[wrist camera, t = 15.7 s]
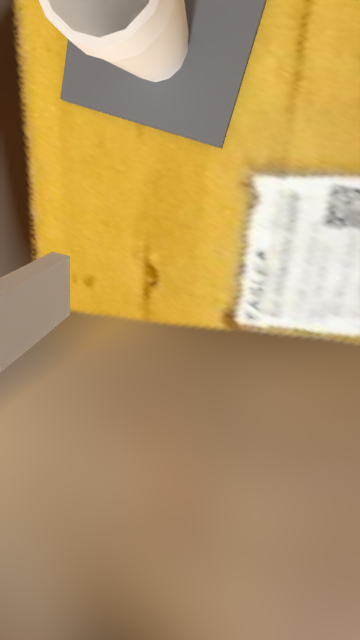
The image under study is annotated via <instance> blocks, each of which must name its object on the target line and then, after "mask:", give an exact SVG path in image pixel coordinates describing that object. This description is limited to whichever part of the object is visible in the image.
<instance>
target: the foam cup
mask: <svg viewBox="0 0 360 640" xmlns="http://www.w3.org/2000/svg"><path fill="white" fill-rule="evenodd" d="M39 2H40V4H41V6H42V9H43V11H44V13H45V16H46V18H47V19H48V20H49V21H50V22H51V23H52V24H53V25H54V26H55V27H57V28H58V29H59V30H60V31H61V32H62V33H63V34H64V35H65V36H66V37H67V38H68V39H69V40H70V41H71V42H72V43H73V44H74V45H76V46H77V47H78V48H79V49H81V50H82V51H83V52H84V53H85V54H87V55H90V56H93V57H97V58H101V59H103V60H105V61H108V62H110V63H112V64H114V65H116V66H118V67H120V68H122V69H124V70H126V71H128V72H130V73H132V74H134V75H136V76H138V77H140V78H142V79H145V80H149V81H153V82H159V81H162V80H166V79H169V78H170V77H171V76H172V75H173V74H175V73H176V72H177V71H178V70H179V69H180V68H181V66H182V64H183V61H184V59H185V57H186V54H187V52H188V36H189V33H188V24H187V17H186V10H185V3H184V0H39Z"/></svg>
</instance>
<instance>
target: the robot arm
mask: <svg viewBox="0 0 360 640" xmlns="http://www.w3.org/2000/svg"><path fill="white" fill-rule="evenodd" d="M69 315H70V256H66V255H63V254H59V253H55V252H51V253H49V254H47V255H45V256H43V257H41V258H39V259H37V260H35V261H33V262H31V263H29V264H27V265H25V266H23V267H21V268H19V269H17V270H16V271H13V272H11V273H9V274H7V275H5V276H3V277H1V278H0V372H1V371H3V369H5V368H6V367H7V366H9V365H10V364H11V363H12V362H13V361H14V360H16V359H17V358H18V357H19V356H21V355H22V354H23V353H24V352H26V351H27V350H28V349H29V348H30V347H31V346H33V345H34V344H35V343H36V342H37V341H39V340H40V339H41V338H42V337H44V336H45V335H46V334H47V333H48V332H50V331H51V330H52V329H53V328H55V327H56V326H57V325H58V324H59V323H61V322H62V321H63V320H64V319H65V318H67V317H68V316H69Z"/></svg>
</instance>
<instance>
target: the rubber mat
mask: <svg viewBox="0 0 360 640" xmlns="http://www.w3.org/2000/svg"><path fill="white" fill-rule="evenodd" d="M266 1H267V0H184V3H185V10H186V17H187V24H188V33H189V36H188V52H187V54H186V57H185V59H184V61H183V64H182V66H181V68H180V69H179V70H178V71H177V72H176V73H175V74H173V75H172V76H171V77H170V78H169V79H166V80H162V81H159V82H153V81H149V80H145V79H142V78H140V77H138V76H136V75H134V74H132V73H130V72H128V71H126V70H124V69H122V68H120V67H118V66H116V65H114V64H112V63H110V62H108V61H105V60H103V59H101V58H97V57H93V56H90V55H87V54H85V53H84V52H83V51H82V50H81V49H79V48H78V47H77V46H76V45H74V44H73V43H72V42H71V41H70V40H69V39H68V45H67V52H66V60H65V68H64V76H63V84H62V92H61V100H63V101H66V102H69V103H73V104H76V105H79V106H83V107H86V108H89V109H92V110H96V111H99V112H102V113H106V114H109V115H112V116H116V117H119V118H122V119H126V120H129V121H132V122H136V123H139V124H142V125H145V126H149V127H152V128H155V129H159V130H162V131H165V132H169V133H172V134H175V135H179V136H182V137H185V138H189V139H192V140H195V141H198V142H202V143H205V144H208V145H212V146H215V147H218V148H222V147H223V143H224V140H225V137H226V133H227V130H228V127H229V123H230V120H231V117H232V114H233V110H234V107H235V104H236V100H237V97H238V94H239V90H240V87H241V84H242V80H243V77H244V74H245V70H246V67H247V64H248V60H249V57H250V54H251V50H252V47H253V44H254V40H255V37H256V34H257V31H258V27H259V24H260V21H261V17H262V14H263V11H264V7H265V4H266Z"/></svg>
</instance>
